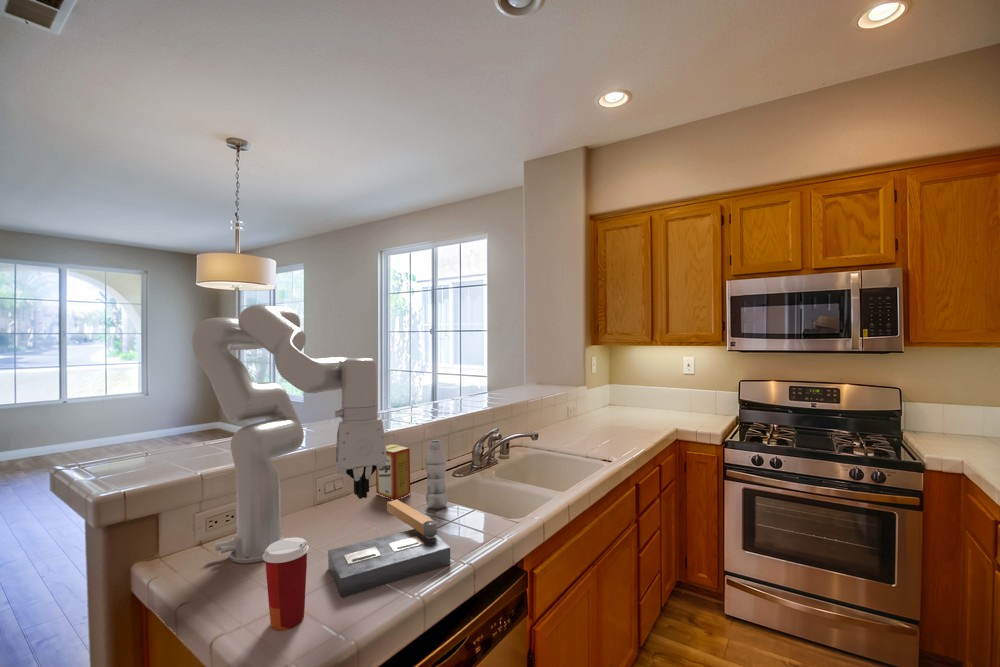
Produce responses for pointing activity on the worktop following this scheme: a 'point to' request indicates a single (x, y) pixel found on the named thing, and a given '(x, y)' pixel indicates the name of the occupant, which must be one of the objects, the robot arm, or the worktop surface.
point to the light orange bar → (412, 518)
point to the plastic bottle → (436, 476)
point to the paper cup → (286, 581)
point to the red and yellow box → (394, 473)
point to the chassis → (385, 560)
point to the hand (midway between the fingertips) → (361, 496)
